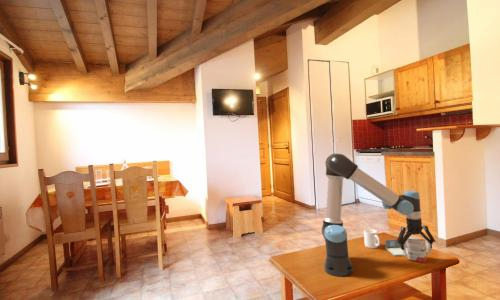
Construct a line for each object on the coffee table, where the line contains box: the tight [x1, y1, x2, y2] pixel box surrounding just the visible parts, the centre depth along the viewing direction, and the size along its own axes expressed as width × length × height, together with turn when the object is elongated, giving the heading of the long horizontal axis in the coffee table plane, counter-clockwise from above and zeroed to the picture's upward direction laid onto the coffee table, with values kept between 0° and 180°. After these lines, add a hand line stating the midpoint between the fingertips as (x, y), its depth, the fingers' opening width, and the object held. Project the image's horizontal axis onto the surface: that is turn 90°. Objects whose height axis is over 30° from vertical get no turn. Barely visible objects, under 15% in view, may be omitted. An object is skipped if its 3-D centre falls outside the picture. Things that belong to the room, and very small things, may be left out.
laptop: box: [384, 238, 408, 257], centre depth 163 cm, size 16×12×6 cm
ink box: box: [406, 236, 428, 263], centre depth 151 cm, size 8×5×12 cm, turn 39°
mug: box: [363, 228, 381, 249], centre depth 174 cm, size 12×8×10 cm
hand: (416, 254), depth 151 cm, fingers open, 13 cm apart
